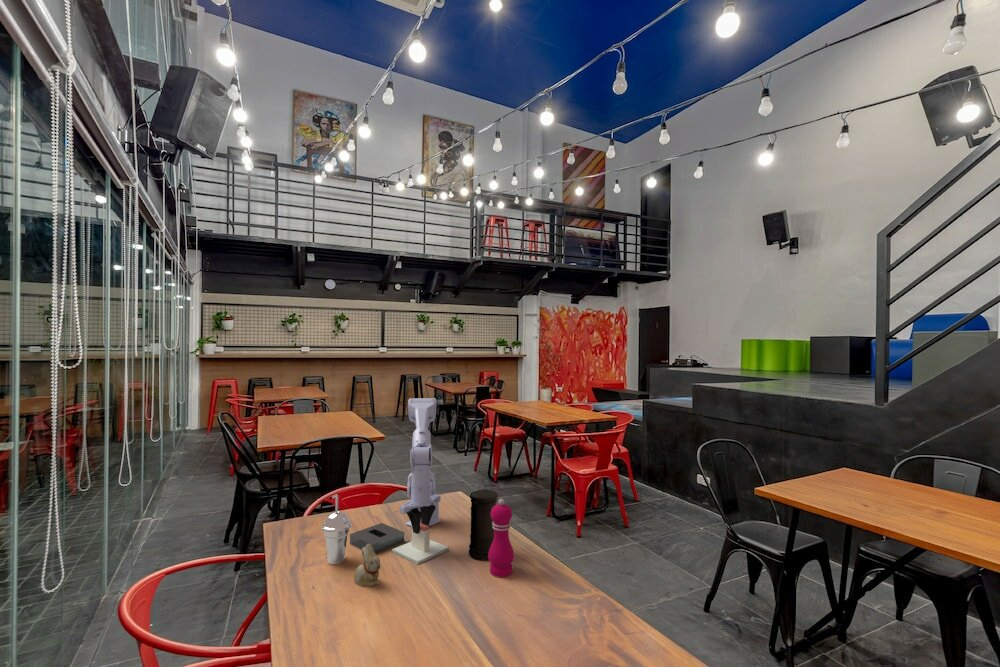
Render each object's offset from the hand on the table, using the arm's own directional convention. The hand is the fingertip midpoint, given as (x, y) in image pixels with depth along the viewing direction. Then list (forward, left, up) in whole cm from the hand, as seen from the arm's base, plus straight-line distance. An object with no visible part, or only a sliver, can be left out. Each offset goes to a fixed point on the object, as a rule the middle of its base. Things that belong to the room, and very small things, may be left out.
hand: (420, 531), depth 138 cm
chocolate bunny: (+21, +3, -6) cm, 22 cm away
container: (-11, +16, -6) cm, 20 cm away
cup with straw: (+20, -14, -6) cm, 25 cm away
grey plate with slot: (+5, -15, -6) cm, 17 cm away
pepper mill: (-6, +27, -6) cm, 28 cm away
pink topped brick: (0, 0, -5) cm, 5 cm away
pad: (0, 0, -6) cm, 6 cm away
